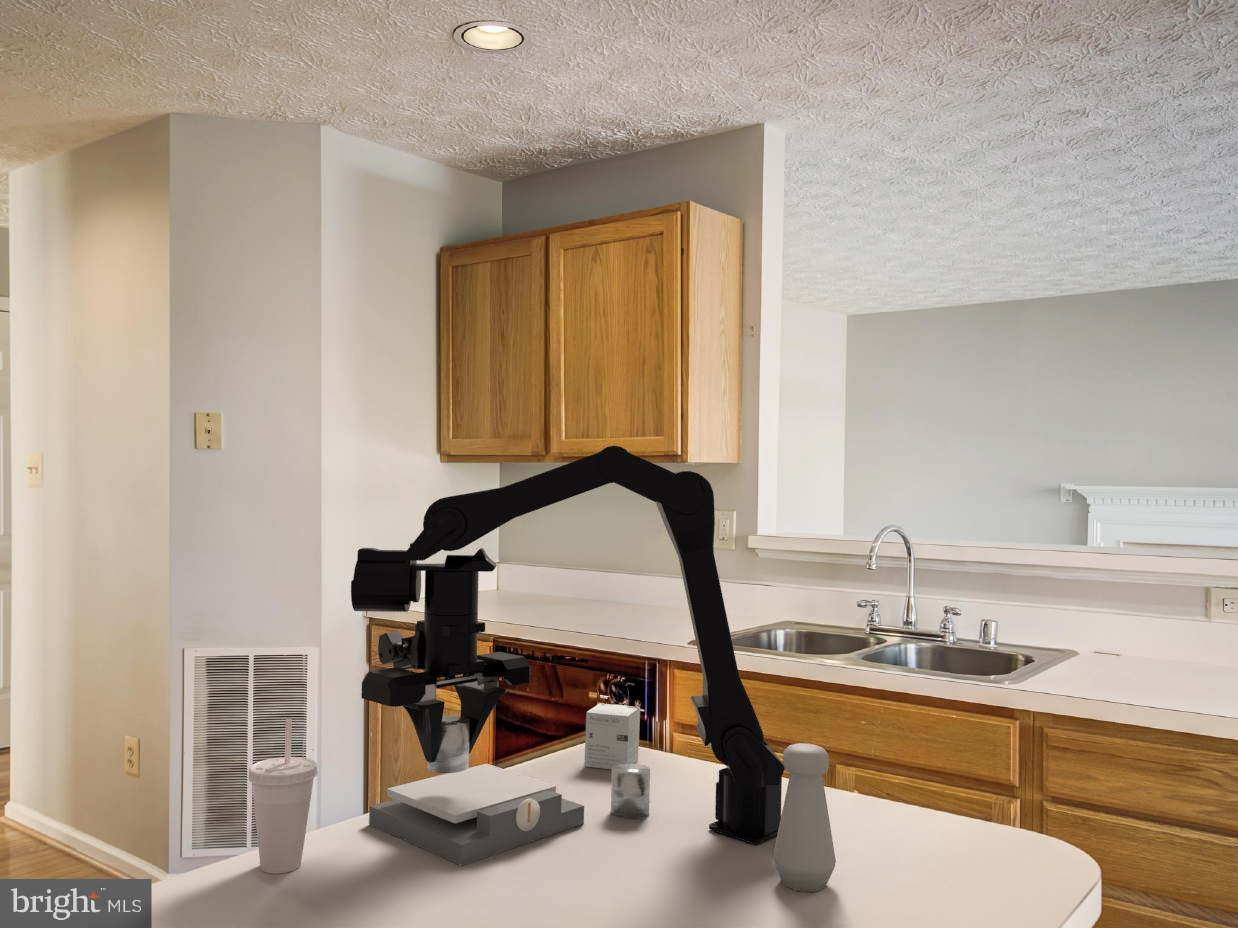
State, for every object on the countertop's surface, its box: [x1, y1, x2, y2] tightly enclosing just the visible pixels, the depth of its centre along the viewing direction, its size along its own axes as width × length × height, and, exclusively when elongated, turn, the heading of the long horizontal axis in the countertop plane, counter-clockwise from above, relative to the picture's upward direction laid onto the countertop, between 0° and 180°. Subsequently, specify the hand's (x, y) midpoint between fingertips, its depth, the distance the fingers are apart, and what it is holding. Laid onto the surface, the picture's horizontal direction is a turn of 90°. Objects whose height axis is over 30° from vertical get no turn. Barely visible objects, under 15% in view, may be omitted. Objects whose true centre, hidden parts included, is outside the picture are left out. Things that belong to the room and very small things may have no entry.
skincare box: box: [583, 702, 641, 770], centre depth 133 cm, size 6×6×7 cm
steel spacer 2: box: [610, 763, 651, 821], centre depth 114 cm, size 4×4×5 cm
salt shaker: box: [773, 742, 837, 893], centre depth 95 cm, size 6×6×13 cm
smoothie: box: [247, 718, 318, 875], centre depth 96 cm, size 6×6×14 cm
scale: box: [368, 763, 585, 867], centre depth 109 cm, size 16×17×5 cm
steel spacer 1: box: [426, 715, 470, 774], centre depth 107 cm, size 4×4×5 cm
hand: (448, 757), depth 107 cm, fingers closed on steel spacer 1, 4 cm apart
